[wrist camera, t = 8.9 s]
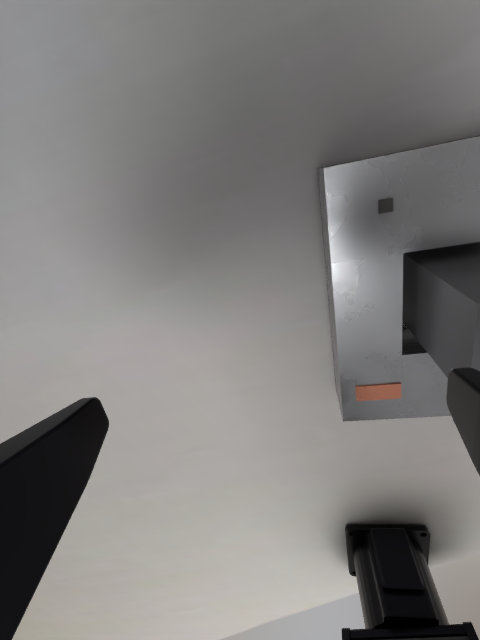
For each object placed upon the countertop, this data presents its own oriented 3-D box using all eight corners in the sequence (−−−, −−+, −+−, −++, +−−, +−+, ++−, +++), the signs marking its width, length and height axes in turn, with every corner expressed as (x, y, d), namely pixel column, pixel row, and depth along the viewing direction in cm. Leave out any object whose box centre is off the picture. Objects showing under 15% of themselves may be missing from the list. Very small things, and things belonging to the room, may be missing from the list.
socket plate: (538, 376, 20) (580, 409, 17) (336, 390, 22) (343, 422, 19) (593, 112, 14) (668, 97, 11) (317, 169, 17) (323, 168, 14)
